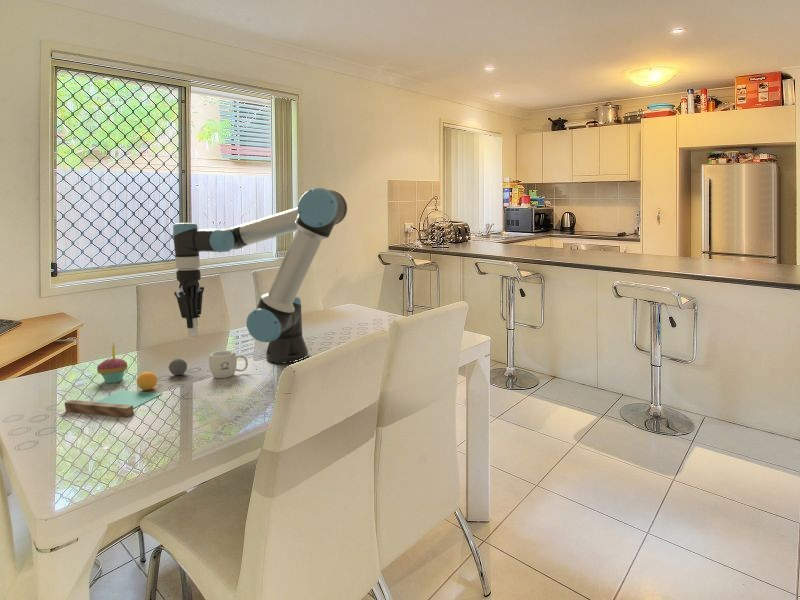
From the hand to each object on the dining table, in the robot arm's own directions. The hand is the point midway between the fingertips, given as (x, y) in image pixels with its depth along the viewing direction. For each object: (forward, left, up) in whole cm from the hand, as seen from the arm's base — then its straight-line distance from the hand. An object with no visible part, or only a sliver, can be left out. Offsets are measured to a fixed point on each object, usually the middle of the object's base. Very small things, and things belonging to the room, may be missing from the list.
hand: (193, 336), depth 167 cm
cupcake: (+17, +18, -11) cm, 27 cm away
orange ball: (0, +23, -8) cm, 25 cm away
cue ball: (0, +9, -8) cm, 12 cm away
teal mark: (0, +33, -11) cm, 35 cm away
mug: (-17, +6, -11) cm, 22 cm away
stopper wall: (0, +41, -11) cm, 43 cm away
